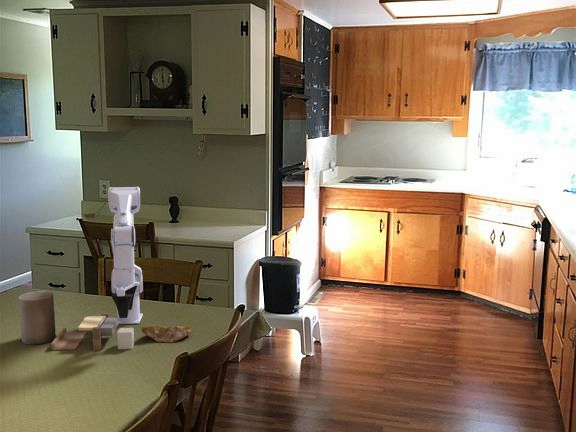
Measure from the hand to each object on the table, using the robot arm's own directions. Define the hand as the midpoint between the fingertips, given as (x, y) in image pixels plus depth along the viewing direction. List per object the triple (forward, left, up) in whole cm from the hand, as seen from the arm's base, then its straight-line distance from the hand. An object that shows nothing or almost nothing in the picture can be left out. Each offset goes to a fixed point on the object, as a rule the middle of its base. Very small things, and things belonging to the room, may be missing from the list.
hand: (125, 313), depth 183 cm
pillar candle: (-8, -27, -10) cm, 30 cm away
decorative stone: (-7, +11, -10) cm, 17 cm away
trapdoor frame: (-6, -14, -10) cm, 18 cm away
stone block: (0, 0, -8) cm, 8 cm away
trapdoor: (-6, -9, -7) cm, 13 cm away
